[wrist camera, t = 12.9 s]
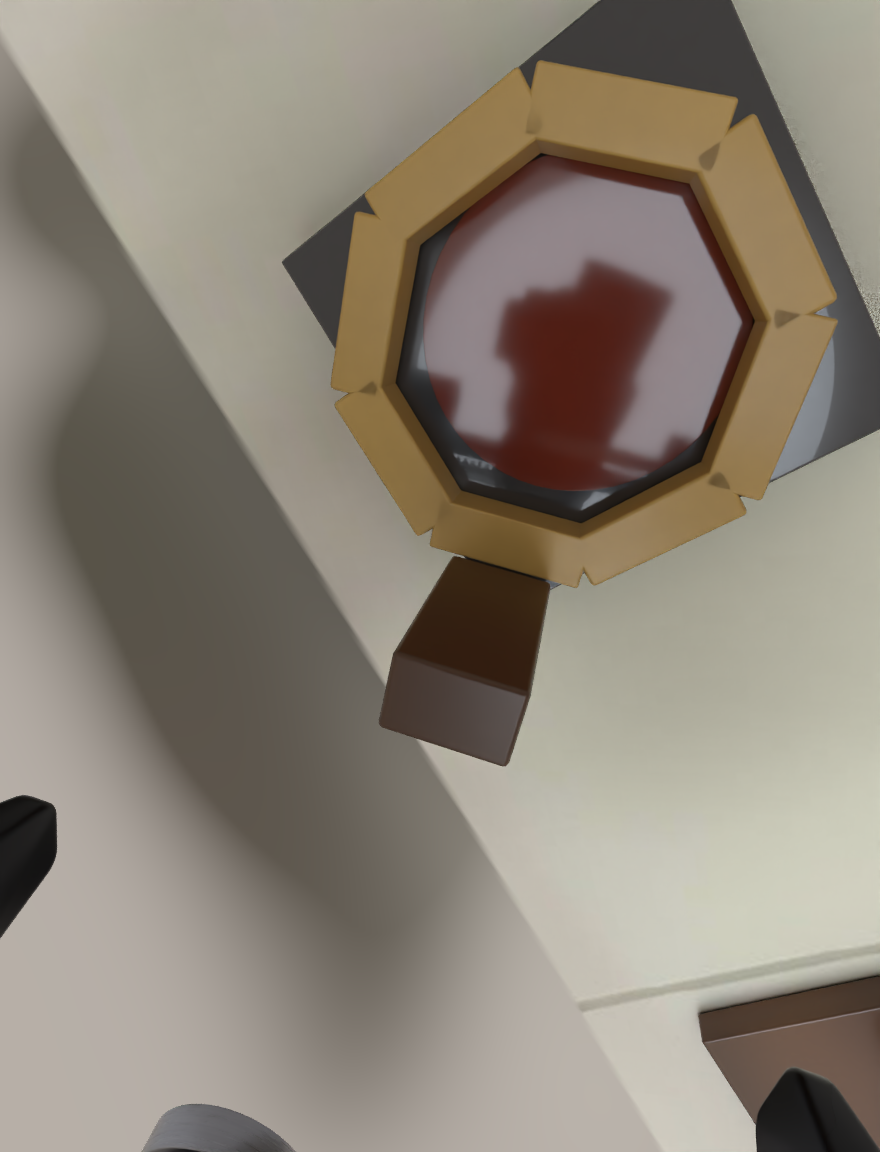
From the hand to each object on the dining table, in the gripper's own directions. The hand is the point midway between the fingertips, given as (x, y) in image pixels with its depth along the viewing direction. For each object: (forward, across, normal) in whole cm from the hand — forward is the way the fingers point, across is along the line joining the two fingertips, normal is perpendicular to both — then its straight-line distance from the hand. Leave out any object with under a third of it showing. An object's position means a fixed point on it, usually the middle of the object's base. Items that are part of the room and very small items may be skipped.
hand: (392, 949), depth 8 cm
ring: (+10, 0, -6) cm, 12 cm away
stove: (+12, 0, -7) cm, 14 cm away
